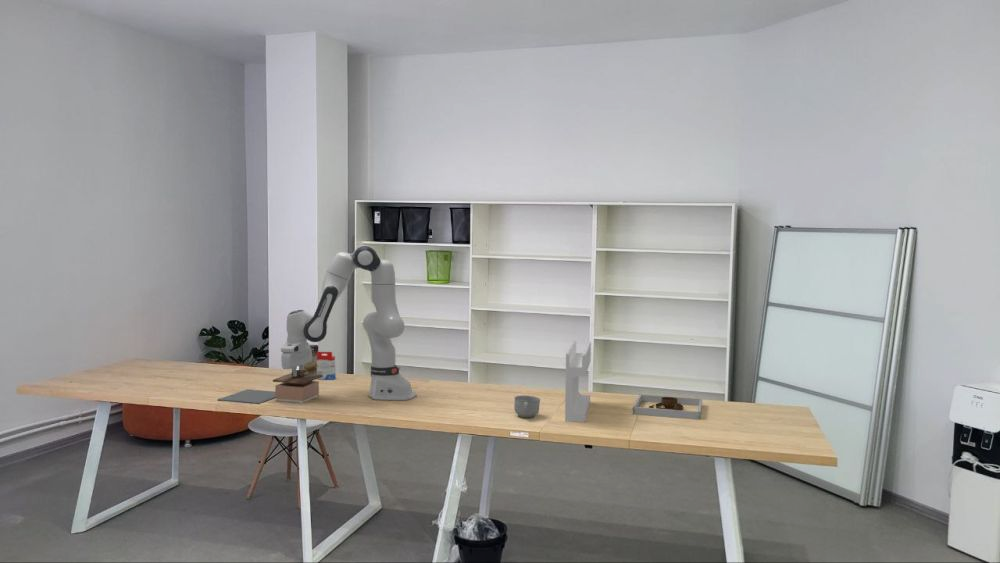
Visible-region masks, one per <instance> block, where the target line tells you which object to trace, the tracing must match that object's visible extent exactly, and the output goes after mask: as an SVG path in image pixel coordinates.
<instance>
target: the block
mask: <svg viewBox="0 0 1000 563" xmlns="http://www.w3.org/2000/svg"><path fill="white" fill-rule="evenodd" d="M591 345H592V342H591V341H588V342H587V343H586V346H585V348H584V351H583V352H577V342H576V340H575V341H574V340H573V341H572V342H571V344H570V346H569V348H568V350H567V351H566V353H565V394H564V395H565V398H564V399H565V400H564V401H565V402H564V403H565V405H564V422H569V423H586V419H587V416H588V412H589V408H590V403H591V394H590V395H589V394H581V393H580V390H579V387H580V386H579V385H580V383H579V382H580V381H579V380H580V377H586V376H587V373H588V371H589V370H588V369H589V366H590V364H591V356H592V353H591V351H592V348H591V347H592V346H591Z"/></svg>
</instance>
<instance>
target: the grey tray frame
mask: <svg viewBox="0 0 1000 563" xmlns="http://www.w3.org/2000/svg"><path fill="white" fill-rule="evenodd" d="M663 397H672V396H667V395H654V394H642V393H641V394H640V393H639V395H638V396H637V399H636V400H635V402H634V404H633V406H632V415H640V416H650V417H651V416H652V417H663V418H664V417H665V418H677V419H691V420H701V416H702V411H703V410H702V409H703V398H695V397H682V396H673V397H674V398H677V399H678V401H677V403H679V404H681V405H683V406H685V405H686V406H687V405H688V406H698V410H697V411H693V410H683V409H682V410H669V409H657V408H656V407H652V408H650V407H643V406H640V405H641V402H645V403H646V402H647V403H656V404H657V403H661V399H662V398H663Z"/></svg>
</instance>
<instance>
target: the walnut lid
mask: <svg viewBox="0 0 1000 563" xmlns="http://www.w3.org/2000/svg"><path fill="white" fill-rule="evenodd" d="M296 370H297V372H298V376H293V372H292V371H291V373H288V374H285V375H283V376H279V377H277V378H273V379H272V382H273V383H280V384H281V383H296V384H305V383H308V382H310V381H316V380H318V378H321V377H322V375H320V374H304V371H303V370H299V369H296Z"/></svg>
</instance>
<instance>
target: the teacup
mask: <svg viewBox="0 0 1000 563" xmlns="http://www.w3.org/2000/svg"><path fill="white" fill-rule="evenodd" d="M540 402H541V399H540V397H537V396H533V395H525V394H524V395H515V396H514V407H513V408H514V409H513V410H514V412H515V413H516V414H517V416H518V417H521V418H527V419H529V418H534V417H535V416H537V415H538V414H539V411H540Z"/></svg>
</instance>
